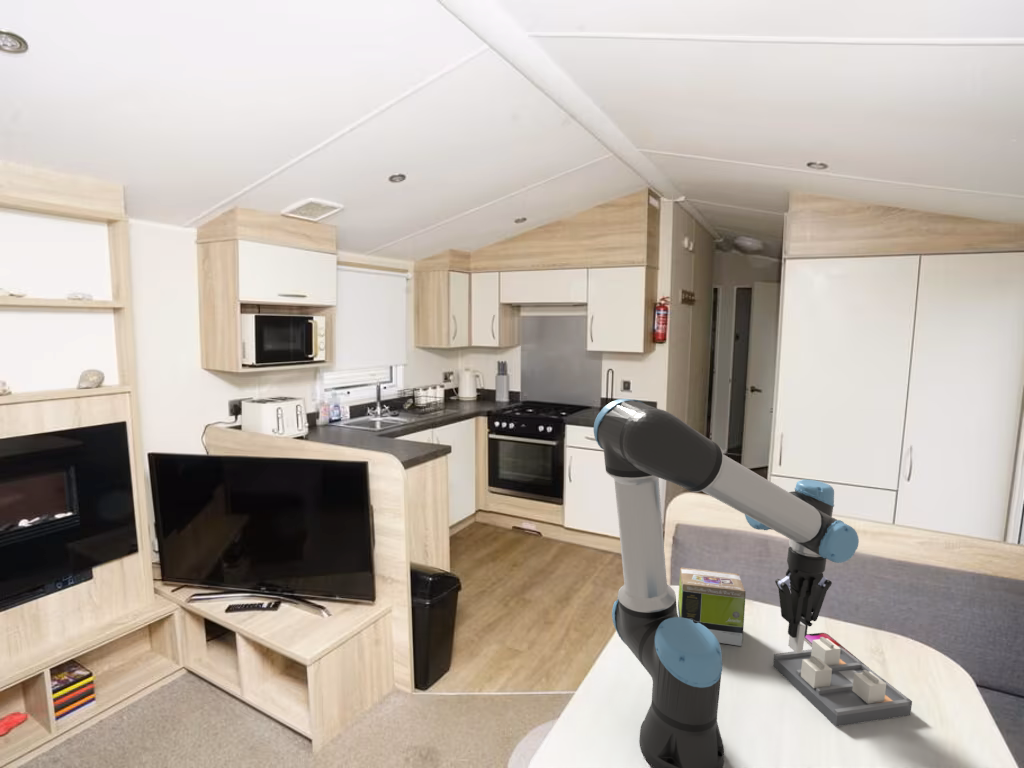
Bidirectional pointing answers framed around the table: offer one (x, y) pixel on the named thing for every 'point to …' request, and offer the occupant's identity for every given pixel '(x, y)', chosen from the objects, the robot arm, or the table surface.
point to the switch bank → (842, 691)
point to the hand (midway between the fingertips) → (795, 649)
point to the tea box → (713, 602)
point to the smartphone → (815, 636)
